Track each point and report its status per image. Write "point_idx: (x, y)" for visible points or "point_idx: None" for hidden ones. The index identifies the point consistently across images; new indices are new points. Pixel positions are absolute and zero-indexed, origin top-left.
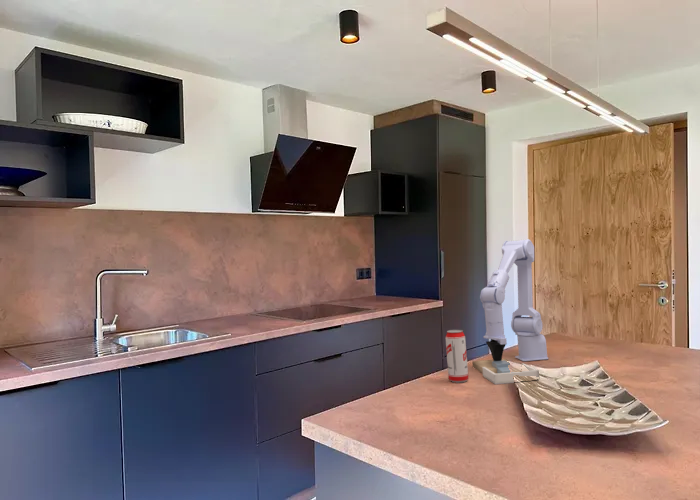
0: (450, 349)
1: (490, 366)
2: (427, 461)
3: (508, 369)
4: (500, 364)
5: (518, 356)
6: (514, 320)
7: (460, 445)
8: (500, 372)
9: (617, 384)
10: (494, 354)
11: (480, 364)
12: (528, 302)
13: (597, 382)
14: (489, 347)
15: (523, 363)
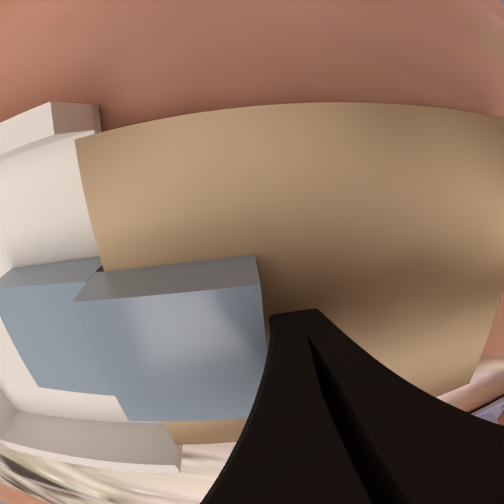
0: None
1: (248, 233)
2: None
3: (46, 355)
4: (90, 341)
5: (497, 410)
6: None
7: None
8: (22, 276)
9: (38, 498)
10: (262, 401)
11: (398, 142)
12: None
13: (44, 490)
14: (439, 441)
15: (177, 471)
